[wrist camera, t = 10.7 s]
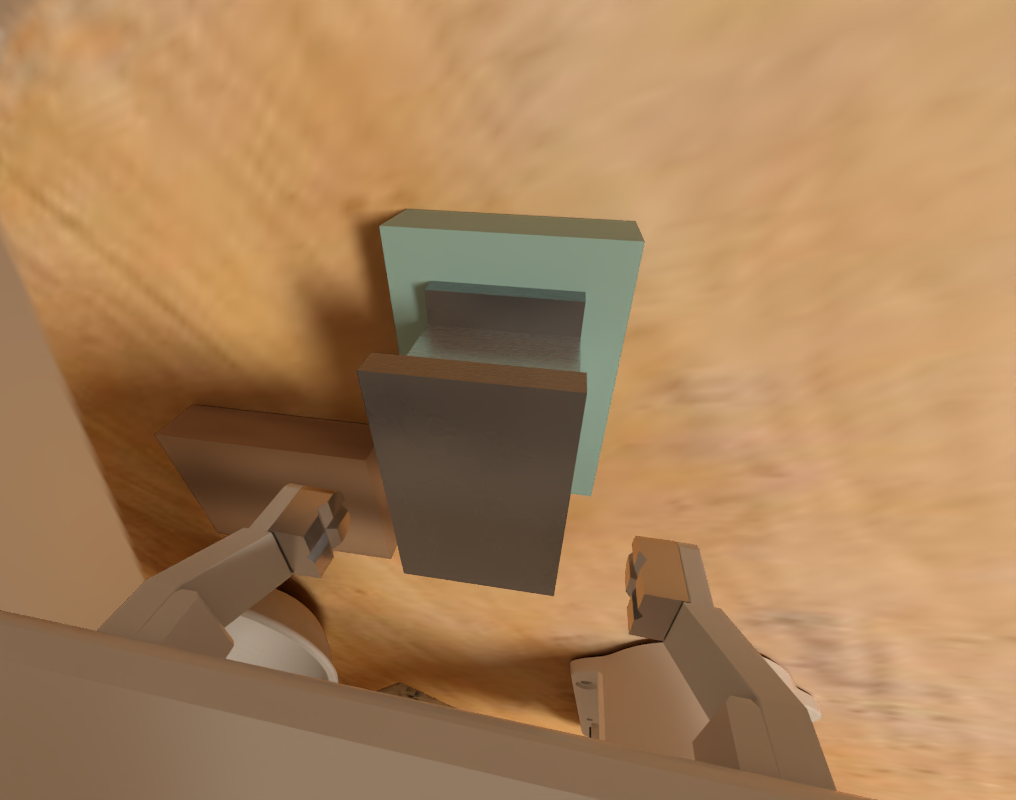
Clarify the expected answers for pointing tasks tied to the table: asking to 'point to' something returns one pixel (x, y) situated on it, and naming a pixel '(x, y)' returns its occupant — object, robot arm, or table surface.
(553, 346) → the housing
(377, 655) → the table surface
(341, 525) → the robot arm
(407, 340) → the stand
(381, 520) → the stand
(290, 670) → the dish
